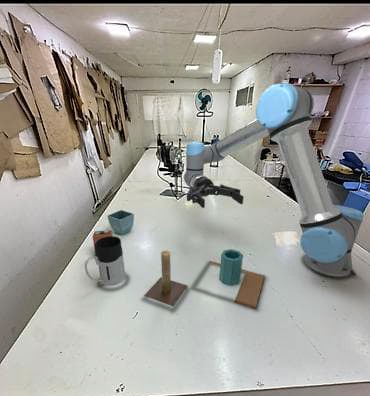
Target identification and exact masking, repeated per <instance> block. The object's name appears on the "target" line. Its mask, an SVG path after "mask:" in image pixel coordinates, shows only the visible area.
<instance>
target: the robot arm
mask: <svg viewBox="0 0 370 396" xmlns="http://www.w3.org/2000/svg"><path fill="white" fill-rule="evenodd" d="M314 105H315V102H314V97H313V95H312V93H311V92H310V91H309V90H308V89H307V88H305V87H303V86H297V85H293V84H291V83H288V82H282V83H275V84H273V85H271V86H269V87H268V88H266V89H265V90H264V91H263V92H262V93H261V95H260V97H259V99H258V102H257V103H256V107H255V115H256V119H254V120H253V121H250V122H248V123H247V124H245V125H244V126H242V127H240V128H239V129H237V130H235V131H233V132H232V133H229V134H228V135H226V136H225V137H223V138H221V139H219V140H218V141H216V142H214V143H213V144H211V145H205V143H204V142H201V141H190V142H188V143H187V144H186V150H185V151H186V152H185V159H186V161H185V163H186V165H185V168H186V169H185V173H184V175H183V181H184V183H185V184H186V185H187V187H188V188H189V189H188V191H187V193H186V202H191V204H197V205H199V206H200V208H201V209H204V208H205V207H206V206H205V204H206V199H205V198H204V197H209V196H223V197H229V198H231V199H232V200H234V201H235V202H236V203H238V204H240V205H243V204H244V195H242V194H241V189H240V188H237V187H236V188H235V187H231V186H227V185H224V184H219V185H215V184H214V182H213V181H212V180H211V179H210V178H208V177H207V176H206V175H204V167H205V165H206V164H211V163H218V162H221V161H224V160H225V158H226V157H228V156H230V155H232V154H234V153H236V152H238V151H241V150H242V149H244V148H246V147H248V146H250V145H252V144H254V143H256V142H259V141H261V140H262V139H264V138H267V137H269V138H270V140H271V141H273V142H275V143H277V144H278V148H279V150H280V154H281V157H282V160H283V162H284V165H285V168H286V172H287V174H288V177H289V180H290V183H291V185H292V189H293V192H294V195H295V198H296V201H297V204H298V207H299V209H300V212H301V217H300V219H299V220H298V223H299V225H300V229H301V231H302V234H301V237H300V248H301V250H302V251H303V253H304V264H305V265H306V266H307V267H308V268H309V269H310V270H312V271H313V272H315V273H317V274H320V275H322V276H325V277H329V278H334V279H335V278H336V279H341V278H346V277H349V276H350V275H351V274H352V276H354V277H356V276H357V274H356V273H355V271H354V270H353V262H352V261H353V259H352V251H353V249H354V245H355V242H356V239H357V237H358V234H359V231H360V228H361V225H362V223H363V221H364V220H363V219H364V213H363V212H362V211H361V210H358V209H356V208H352V207H350V206H349V207H348V206H345V205H339V204H338V205H337V204H333V201H332V199H331V196H330V192H329V190H328V186H327V184H326V180H325V178H324V175H323V171H322V168H321V166H320V163H319V162H320V161H319V159H318V157H317V154H316V151H315V147H314V144H313V142H312V139H311V136H310V133H309V128H310V126H311V124H312V118H311V115H312V113H313V110H314Z"/></svg>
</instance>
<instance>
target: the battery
mask: <svg viewBox="0 0 370 396" xmlns="http://www.w3.org/2000/svg"><path fill="white" fill-rule="evenodd" d="M109 236H114V234H113V230H110V229H103V230H95V231H94V232H93V234H92V241H93V247H94V253H95V257H98V256H97V250H96V242H97V241H98V240H99V239H101V238H104V237H109Z"/></svg>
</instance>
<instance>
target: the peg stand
mask: <svg viewBox="0 0 370 396" xmlns="http://www.w3.org/2000/svg"><path fill="white" fill-rule="evenodd" d="M160 259H161V260H160V261H161V262H160V263H161V265H160V266H161V277H160V278H159V279H158V280H157V281H156V282H155V283H154V284H153V285H152V287H150V288H149V289H148V291H147V292H145V294H144V295H143V296H144V297H146V298H148V299H151V300H154V301H157V302H160V303H162V304H165V305H167V306H171V307H172V308H173V307H174V306H175V305H176V304H177V303H178V302H179V299H180V298H181V297H182V295H183V294H184V292H186V290H187V288H188V287H189V285H188V284H183V283H181V282H177V281H174V280H171V279H172V277H171V275H172V272H171V269H172V268H171V252H170V251H169V250H163V251H162V252H161V253H160Z"/></svg>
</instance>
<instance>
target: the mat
mask: <svg viewBox="0 0 370 396" xmlns="http://www.w3.org/2000/svg"><path fill="white" fill-rule="evenodd" d="M208 263H209V264H211V265H215V266H219V267H220V264H221V263H220V262H216V261H211V260H209V261H208ZM241 273H245V274H244V276H243V279H242V281H241V284H240V287H239V289H238V291H237V294H236V296H235V299H234V301H233V302H234V303H236V304H239V305H242V306H246V307H248V308H251V309H254V310H256V309H257V305H258V301H259V299H260V294H261V290H262V287H263V283H264V279H265V274H262V273H261V274H260V273H257V272H254V271H253V272H252V271H249V270H245V269H242V268H241Z"/></svg>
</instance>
